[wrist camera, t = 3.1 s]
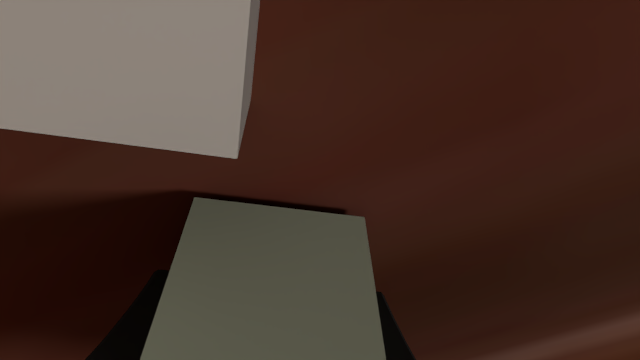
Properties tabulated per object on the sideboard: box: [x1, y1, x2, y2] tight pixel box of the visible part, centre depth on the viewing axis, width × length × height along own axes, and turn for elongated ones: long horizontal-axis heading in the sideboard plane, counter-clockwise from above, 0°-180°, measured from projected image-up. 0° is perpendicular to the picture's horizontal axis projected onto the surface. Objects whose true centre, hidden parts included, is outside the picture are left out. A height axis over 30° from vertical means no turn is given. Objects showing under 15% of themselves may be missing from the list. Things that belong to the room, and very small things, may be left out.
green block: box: [140, 197, 386, 360], centre depth 12 cm, size 4×4×5 cm
